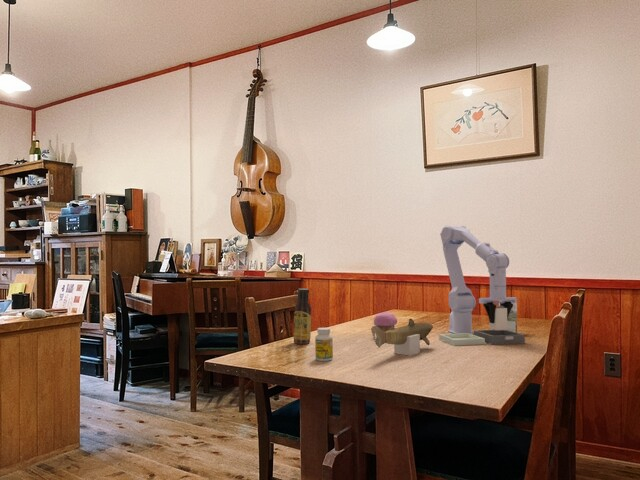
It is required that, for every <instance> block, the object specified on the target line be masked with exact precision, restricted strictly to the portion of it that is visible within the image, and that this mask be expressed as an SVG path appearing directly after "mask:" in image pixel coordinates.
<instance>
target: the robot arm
mask: <svg viewBox="0 0 640 480" xmlns="http://www.w3.org/2000/svg"><path fill="white" fill-rule="evenodd" d="M440 238H441V239H440V240H441V242H442V243H441V244H442V251H443V255H444V259H445V265H446V268H447V271H448V272H447V273H448V276H449V280H450V285H451V290H450V291H449V293H448V294H447V295H448V307H449V308H450V309H451V312H450V314H449V318H448V319H449V329H447V332H449V333H451V334H459V333H469V334H472V335H474V331H473V330H472V329H473V328H472V327H473V326H472V324H473V323H472V321H473V320H472V319H473V318H472V312H473V311H474V309H475V307H476V304H477V303H476V302H477V301H476V298H475V296H474V295H473V292H472V290H471V289H470V288H469V287H467V286H466V281H465V278H464V277H465V276H464V274H463V269H462V265H461V262H460V258H459V253H458V249H459V248H460V247H461V246H462V245H463V244H464V243H466V245H468V246H470V247H471V248H473V249H474V250H475V254H476V255H477V257H479V258H480V259H482V260H483V261H484V262H485V264H486V267H487V269H488V274H489V296H487V297H480V298H478V304H482V306H483V307H484V309H485V311H486V314H487V317H488V320H489V324H490V323H494V322H495V309H496V306H497V304H499V303H500V306H504V308H507V319H508V316H509V313H510V311H511V309H512V307H513V304H512V303H517V304H518V299H517V298H518V297H515V296H512V297H510V296H507V268H508V267H509V266H510V258H509V257H508V255H507V253H501V252H499V250H497V249H495V248H494V247H492V246H491V244H490V243H489V242H482V241H480V240H479V239H478V238H477V237H476V236H475V235H474V234H473V233H471V231H470V229H469V228H467V227H466V226H465V225H445V226H443V227H442V229H441V232H440Z"/></svg>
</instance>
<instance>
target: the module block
mask: <svg viewBox="0 0 640 480" xmlns="http://www.w3.org/2000/svg"><path fill="white" fill-rule="evenodd" d="M489 330H507V308H504V306H499V305H496V309H495V322H494V323H490V322H489Z"/></svg>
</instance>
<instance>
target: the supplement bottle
mask: <svg viewBox="0 0 640 480" xmlns="http://www.w3.org/2000/svg"><path fill="white" fill-rule="evenodd" d="M316 331H317V335H316V336H315V339H314V341H315V345H314V346H315V360H316V361H321V362H330V361H332V360H333V359H334V357H333V355H334V354H333V353H334V352H333V351H334V348H333V345H334V344H333V336H332V335H331V334H330V333H331V328H330V327H318V328H317V329H316Z"/></svg>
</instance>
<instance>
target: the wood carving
mask: <svg viewBox="0 0 640 480" xmlns="http://www.w3.org/2000/svg"><path fill="white" fill-rule="evenodd" d="M390 327H391V329H390V330H388V331H386V332H383V331H382V330H381V329H380V328H379V327H377V326H375V325H372V326H371V329H370V330H371V333H372V336H373V340H374V343H375V345H376V346H377V348H381V347H382V346H383V345H385V344H386V345H387V344H388V345H393V347H394V349H393V350H394V351H393V353H394V354H396V353H397V354H398V355H404V356H409V357H410V356H414V355H417V354H420V353H421V343H420V342H421V341H424V342H425V344H426V346H427V345H428V346H429V345H430V344H431V343H430V340H429V339H428V338H427V336H428V335H430V333H431V332H432V330H433V328H434V326H433V325H432V323H428V322H417V323H416V322H415V321H414V319H413V318H408V324H407V325H403V326H399V327H395V326H394V327H393V326H390Z"/></svg>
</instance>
